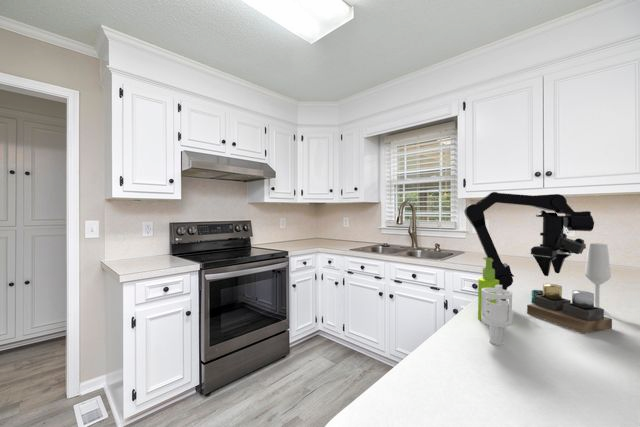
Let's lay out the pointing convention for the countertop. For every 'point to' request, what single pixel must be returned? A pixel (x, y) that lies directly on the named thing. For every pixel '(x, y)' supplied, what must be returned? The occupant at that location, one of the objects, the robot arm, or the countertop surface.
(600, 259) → the champagne flute
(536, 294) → the digital multimeter
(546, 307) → the knob console
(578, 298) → the steel knob
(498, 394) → the countertop surface
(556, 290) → the brass knob
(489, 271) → the soap dispenser
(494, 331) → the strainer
